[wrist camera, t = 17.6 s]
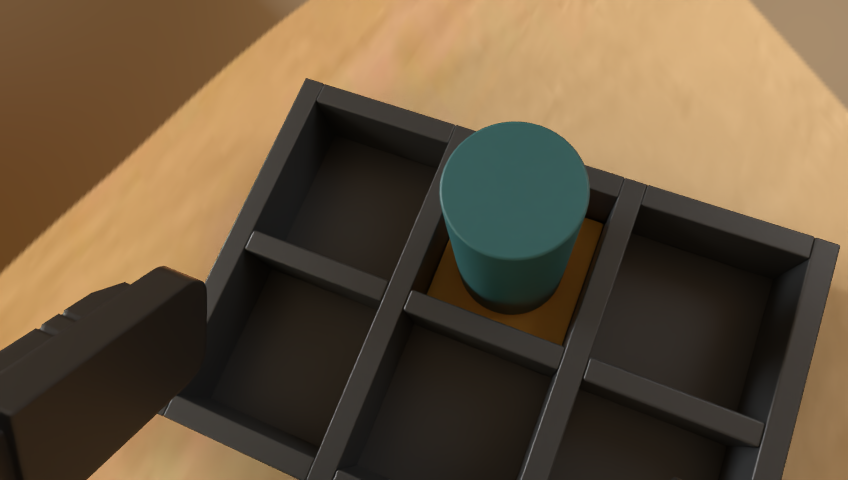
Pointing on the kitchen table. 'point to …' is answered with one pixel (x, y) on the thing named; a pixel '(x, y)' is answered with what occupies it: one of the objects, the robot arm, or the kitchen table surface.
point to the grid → (493, 325)
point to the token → (513, 213)
